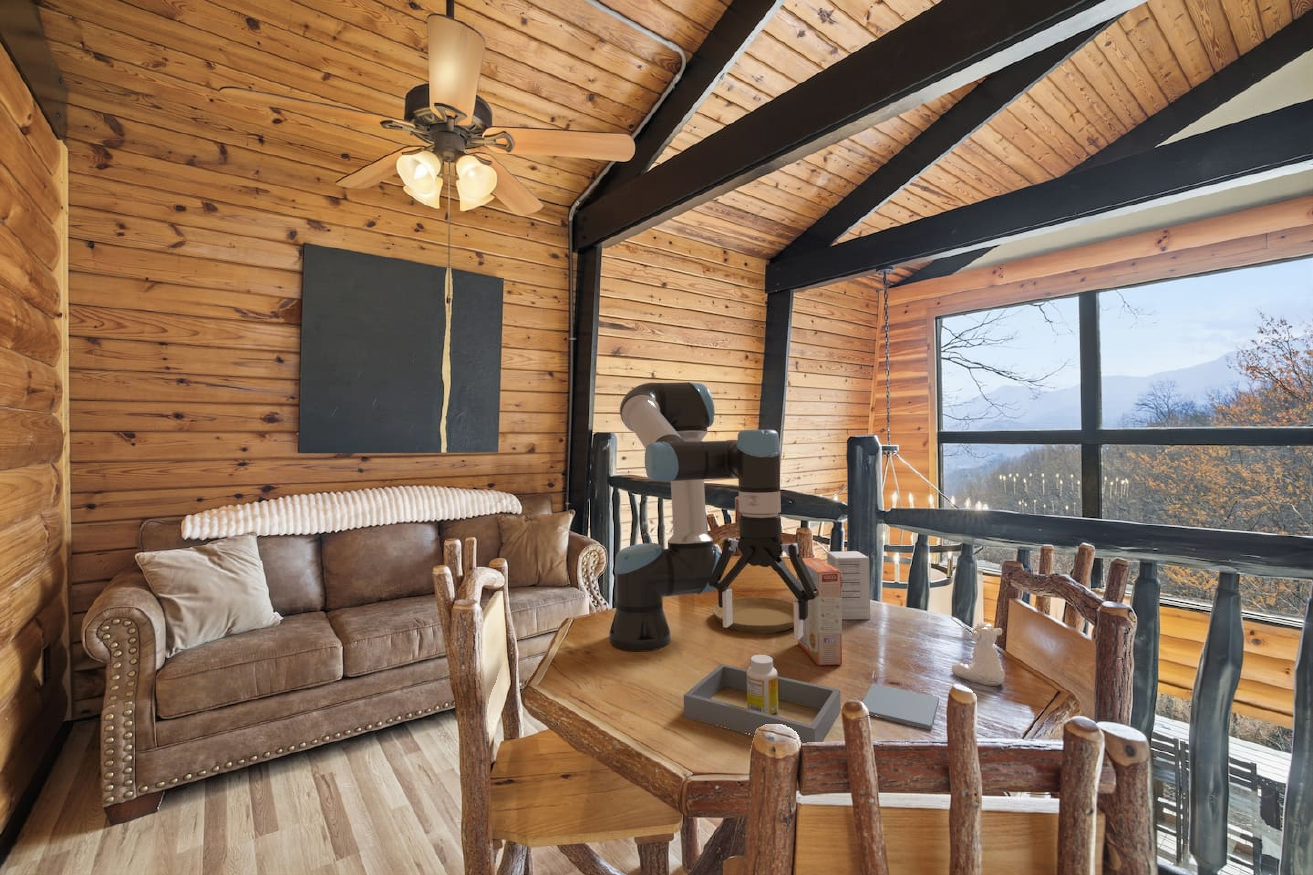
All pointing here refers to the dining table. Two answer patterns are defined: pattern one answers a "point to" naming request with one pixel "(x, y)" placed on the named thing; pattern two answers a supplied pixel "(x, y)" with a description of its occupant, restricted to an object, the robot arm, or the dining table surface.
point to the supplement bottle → (762, 685)
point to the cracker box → (823, 615)
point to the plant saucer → (759, 615)
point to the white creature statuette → (983, 658)
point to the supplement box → (853, 583)
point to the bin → (750, 720)
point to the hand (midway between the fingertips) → (762, 631)
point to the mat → (901, 706)
